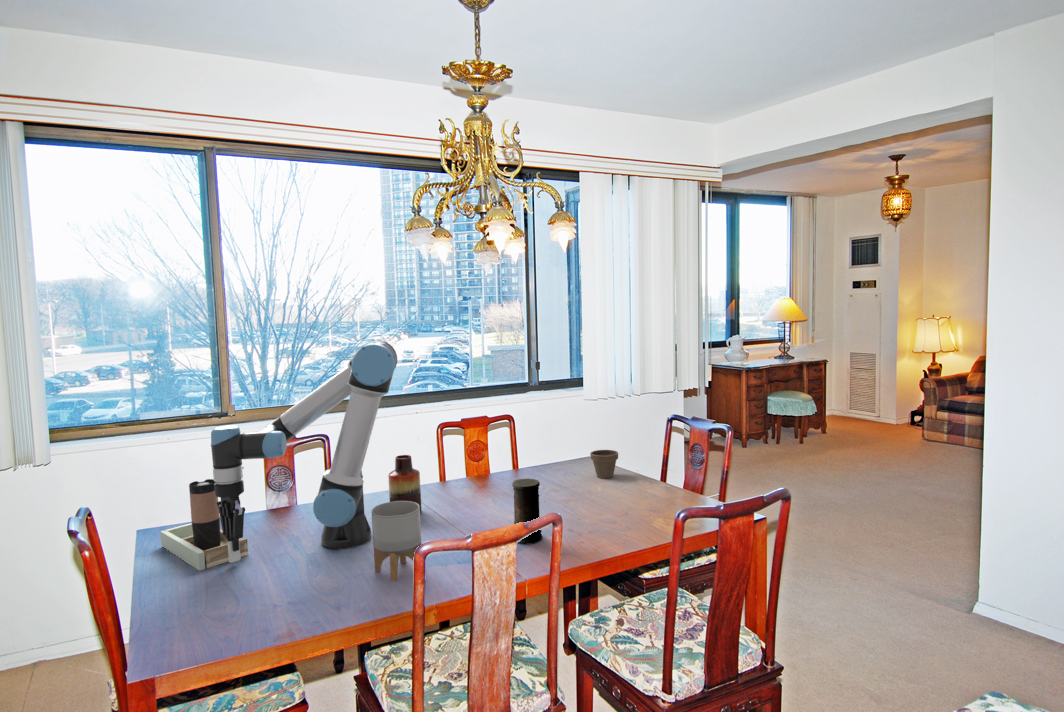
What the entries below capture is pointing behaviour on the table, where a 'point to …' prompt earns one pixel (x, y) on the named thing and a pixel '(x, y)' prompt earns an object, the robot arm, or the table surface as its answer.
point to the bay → (183, 545)
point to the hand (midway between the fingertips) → (234, 560)
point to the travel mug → (204, 514)
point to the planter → (395, 533)
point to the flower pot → (604, 462)
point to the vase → (404, 481)
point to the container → (527, 505)
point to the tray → (219, 550)
